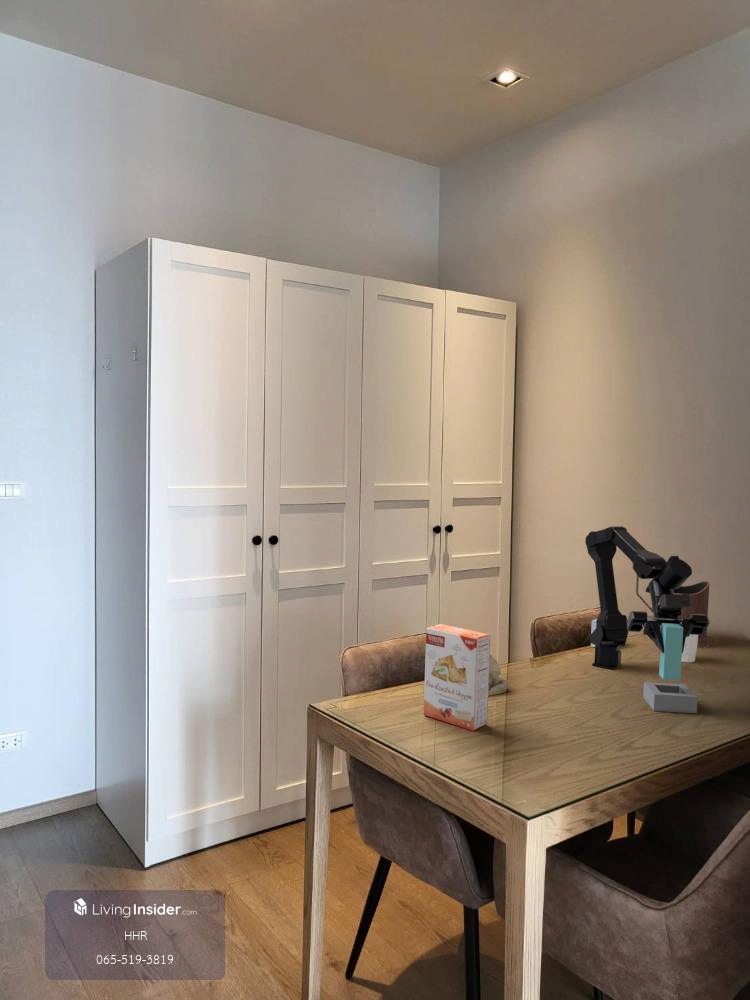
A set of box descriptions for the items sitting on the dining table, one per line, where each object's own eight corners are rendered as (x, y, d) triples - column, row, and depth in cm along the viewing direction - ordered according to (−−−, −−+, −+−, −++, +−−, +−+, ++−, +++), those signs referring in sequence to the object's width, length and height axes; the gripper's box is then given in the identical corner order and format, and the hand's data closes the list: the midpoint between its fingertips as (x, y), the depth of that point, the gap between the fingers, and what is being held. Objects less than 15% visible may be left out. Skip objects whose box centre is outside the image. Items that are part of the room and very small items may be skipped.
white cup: (663, 657, 234) (665, 625, 234) (682, 655, 238) (684, 623, 237) (683, 664, 227) (685, 630, 227) (703, 661, 230) (704, 628, 230)
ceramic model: (465, 699, 190) (466, 659, 189) (444, 686, 200) (445, 648, 200) (513, 693, 195) (515, 655, 195) (490, 681, 206) (492, 644, 205)
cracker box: (422, 716, 177) (424, 626, 175) (437, 710, 181) (440, 622, 180) (472, 732, 167) (476, 637, 166) (488, 725, 172) (491, 633, 171)
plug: (663, 679, 187) (666, 626, 186) (659, 674, 191) (661, 623, 190) (680, 680, 186) (683, 627, 186) (675, 675, 190) (678, 624, 190)
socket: (653, 710, 185) (654, 694, 184) (643, 697, 195) (644, 682, 194) (696, 713, 184) (697, 696, 183) (684, 699, 194) (684, 684, 193)
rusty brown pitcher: (716, 650, 244) (720, 572, 243) (637, 644, 249) (641, 568, 248) (703, 637, 263) (707, 564, 261) (630, 631, 267) (633, 560, 266)
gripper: (631, 579, 192) (639, 633, 182) (709, 582, 190) (721, 637, 180) (623, 603, 200) (630, 656, 190) (697, 607, 198) (709, 661, 188)
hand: (672, 652), depth 187 cm, fingers closed on plug, 4 cm apart
